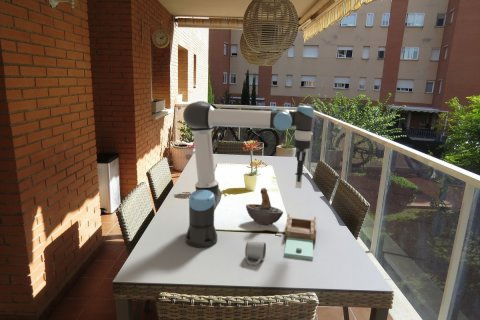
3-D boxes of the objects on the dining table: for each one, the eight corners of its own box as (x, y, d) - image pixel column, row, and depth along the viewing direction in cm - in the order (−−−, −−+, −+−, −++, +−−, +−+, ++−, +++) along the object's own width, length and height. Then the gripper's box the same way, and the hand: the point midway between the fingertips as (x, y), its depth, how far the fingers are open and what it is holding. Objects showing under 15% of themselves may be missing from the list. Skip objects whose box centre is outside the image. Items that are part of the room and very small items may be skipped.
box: (315, 242, 167) (316, 230, 165) (284, 239, 170) (285, 227, 168) (315, 227, 184) (316, 216, 183) (287, 224, 187) (287, 213, 185)
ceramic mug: (247, 252, 155) (248, 236, 153) (265, 255, 153) (266, 239, 151) (242, 264, 145) (243, 248, 143) (261, 267, 143) (262, 251, 141)
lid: (312, 261, 151) (313, 254, 150) (284, 257, 153) (284, 251, 153) (312, 243, 167) (313, 238, 166) (286, 240, 169) (287, 235, 169)
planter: (244, 219, 192) (245, 184, 187) (271, 216, 198) (273, 182, 193) (254, 230, 178) (256, 193, 174) (283, 226, 184) (286, 190, 180)
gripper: (310, 142, 155) (305, 192, 160) (311, 138, 167) (306, 184, 173) (293, 140, 157) (289, 190, 162) (295, 136, 169) (291, 183, 174)
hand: (298, 187), depth 167 cm, fingers closed
